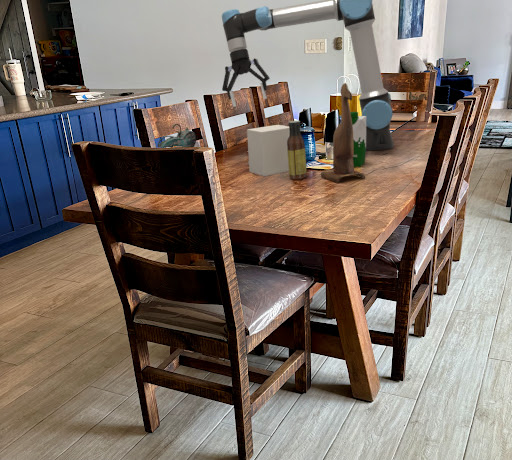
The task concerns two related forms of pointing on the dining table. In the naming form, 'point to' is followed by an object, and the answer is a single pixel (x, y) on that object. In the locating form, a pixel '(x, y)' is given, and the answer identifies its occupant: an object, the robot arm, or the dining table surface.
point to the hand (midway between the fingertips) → (249, 103)
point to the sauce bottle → (296, 152)
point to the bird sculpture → (343, 143)
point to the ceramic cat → (179, 139)
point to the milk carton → (359, 138)
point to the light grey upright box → (268, 149)
